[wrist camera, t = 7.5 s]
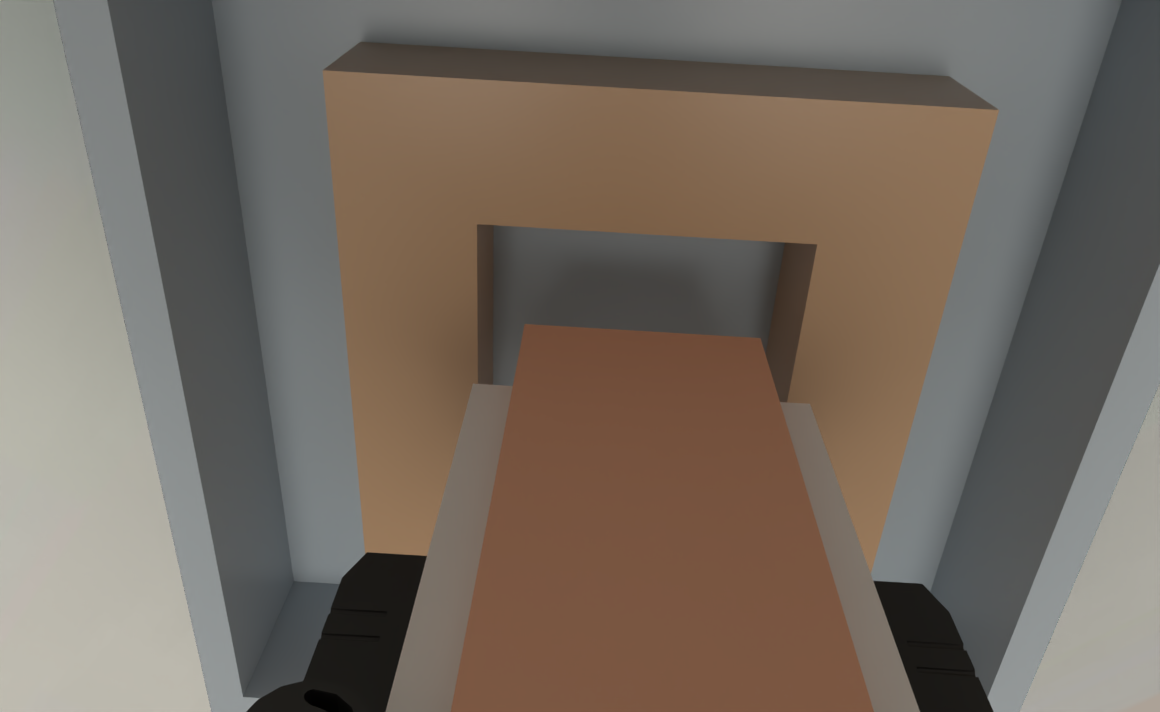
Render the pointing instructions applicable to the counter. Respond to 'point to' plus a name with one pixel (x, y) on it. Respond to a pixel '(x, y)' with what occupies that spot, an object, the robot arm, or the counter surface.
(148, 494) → the counter surface
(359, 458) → the tray box
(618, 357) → the peg
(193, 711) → the counter surface
